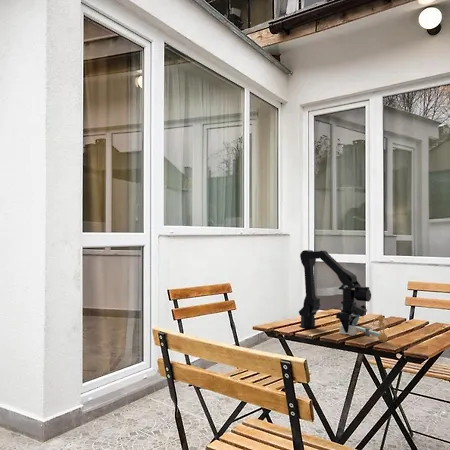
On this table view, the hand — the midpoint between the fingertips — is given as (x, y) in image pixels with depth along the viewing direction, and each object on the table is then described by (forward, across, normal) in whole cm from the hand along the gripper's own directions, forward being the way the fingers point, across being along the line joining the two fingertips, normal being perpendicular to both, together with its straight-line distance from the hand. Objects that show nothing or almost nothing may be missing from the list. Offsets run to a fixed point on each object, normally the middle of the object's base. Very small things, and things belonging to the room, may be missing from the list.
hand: (347, 331), depth 226 cm
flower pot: (+1, +25, +7) cm, 26 cm away
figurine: (+1, -8, -18) cm, 19 cm away
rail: (+1, +7, -5) cm, 9 cm away
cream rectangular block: (+1, 0, 0) cm, 1 cm away
